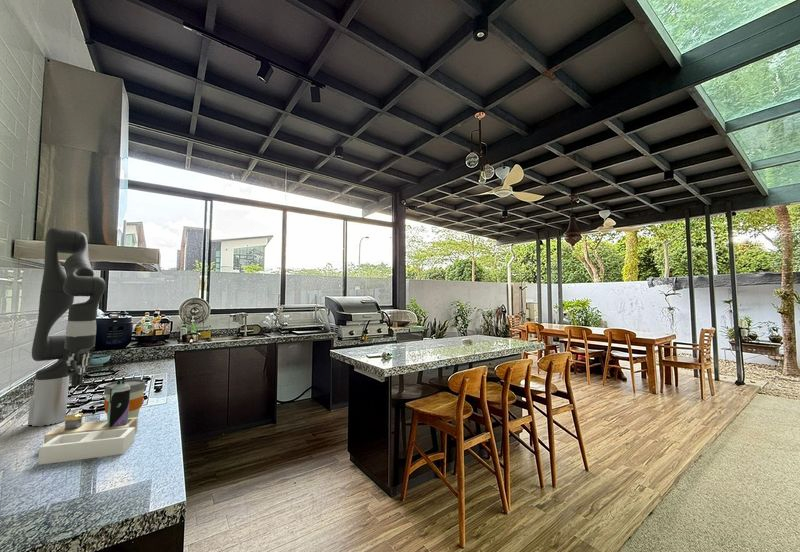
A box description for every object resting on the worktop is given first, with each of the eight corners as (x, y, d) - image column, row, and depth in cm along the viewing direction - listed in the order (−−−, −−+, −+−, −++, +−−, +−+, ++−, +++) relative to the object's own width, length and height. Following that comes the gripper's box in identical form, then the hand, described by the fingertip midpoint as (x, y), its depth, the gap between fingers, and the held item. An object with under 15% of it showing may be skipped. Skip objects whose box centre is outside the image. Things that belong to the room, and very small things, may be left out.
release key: (60, 435, 106) (61, 418, 107) (68, 430, 110) (69, 413, 111) (77, 433, 108) (78, 416, 108) (84, 428, 112) (85, 412, 112)
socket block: (43, 451, 103) (44, 434, 103) (60, 439, 111) (61, 424, 112) (126, 441, 111) (128, 426, 111) (137, 431, 119) (138, 417, 120)
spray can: (114, 442, 110) (119, 382, 111) (101, 440, 111) (106, 381, 112) (130, 435, 115) (135, 378, 117) (118, 434, 116) (122, 377, 118)
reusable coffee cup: (106, 419, 130) (109, 381, 131) (145, 414, 136) (148, 377, 137) (96, 430, 119) (100, 388, 120) (139, 424, 125) (142, 384, 126)
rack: (37, 464, 95) (39, 447, 95) (56, 451, 103) (58, 435, 103) (122, 454, 102) (124, 437, 102) (134, 442, 110) (135, 427, 111)
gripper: (77, 332, 116) (73, 381, 115) (54, 336, 104) (49, 391, 103) (104, 331, 119) (100, 379, 118) (84, 335, 107) (80, 389, 105)
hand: (76, 385), depth 110 cm, fingers closed
